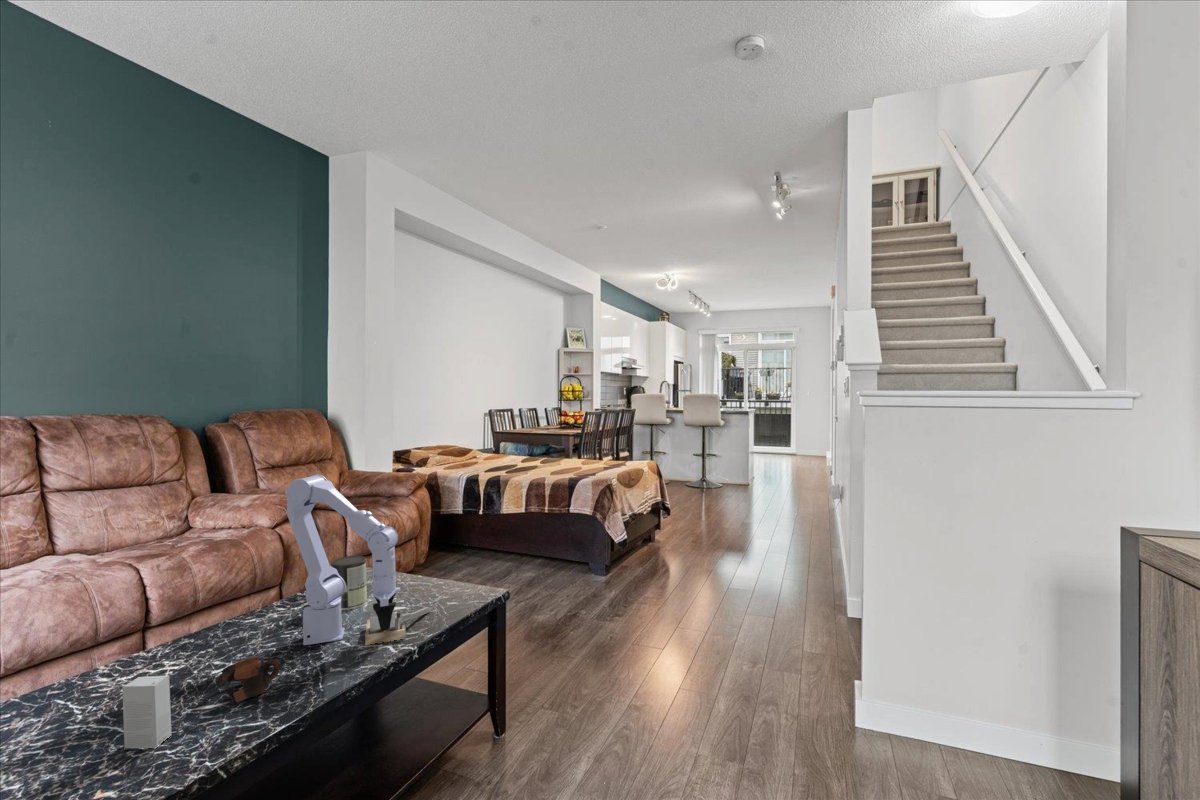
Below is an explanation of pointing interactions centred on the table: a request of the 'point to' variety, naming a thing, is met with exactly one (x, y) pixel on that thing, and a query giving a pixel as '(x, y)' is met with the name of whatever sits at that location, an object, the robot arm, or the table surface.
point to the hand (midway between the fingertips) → (385, 624)
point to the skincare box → (146, 712)
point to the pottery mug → (250, 676)
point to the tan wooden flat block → (383, 635)
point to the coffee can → (352, 581)
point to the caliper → (409, 617)
